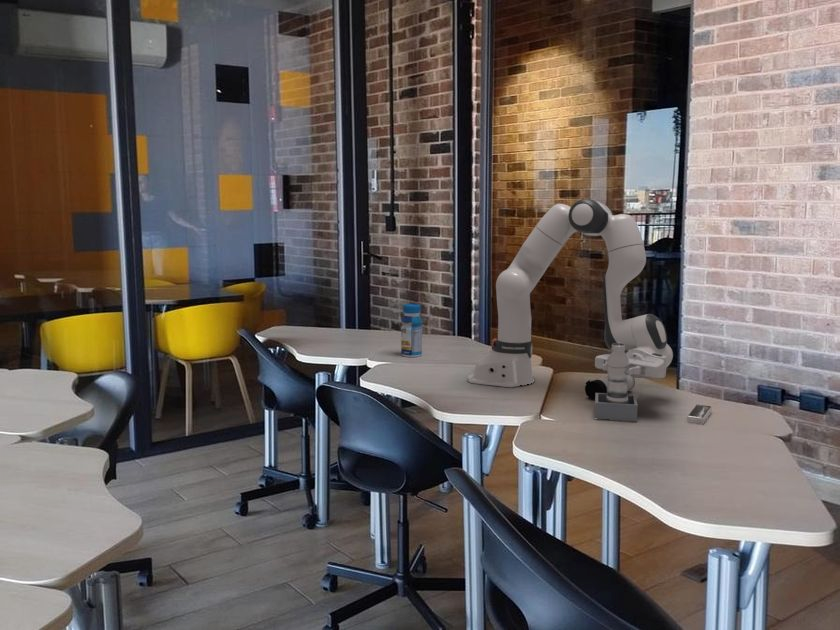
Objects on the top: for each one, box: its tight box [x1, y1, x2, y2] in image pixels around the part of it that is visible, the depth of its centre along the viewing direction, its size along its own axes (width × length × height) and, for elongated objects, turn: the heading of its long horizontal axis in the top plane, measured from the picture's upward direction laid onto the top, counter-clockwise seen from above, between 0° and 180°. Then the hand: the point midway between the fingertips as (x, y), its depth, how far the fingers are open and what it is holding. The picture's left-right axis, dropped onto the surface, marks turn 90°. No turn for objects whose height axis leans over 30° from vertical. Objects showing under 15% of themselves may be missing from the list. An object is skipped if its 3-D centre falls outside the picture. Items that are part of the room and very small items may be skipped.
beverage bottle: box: [400, 303, 424, 358], centre depth 311 cm, size 8×8×20 cm
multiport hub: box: [686, 404, 712, 425], centre depth 230 cm, size 4×14×2 cm, turn 151°
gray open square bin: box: [594, 393, 639, 422], centre depth 232 cm, size 12×12×5 cm
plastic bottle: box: [606, 343, 629, 404], centre depth 230 cm, size 6×7×20 cm
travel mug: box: [584, 375, 636, 401], centre depth 254 cm, size 6×7×20 cm
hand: (616, 369), depth 229 cm, fingers closed on plastic bottle, 6 cm apart
